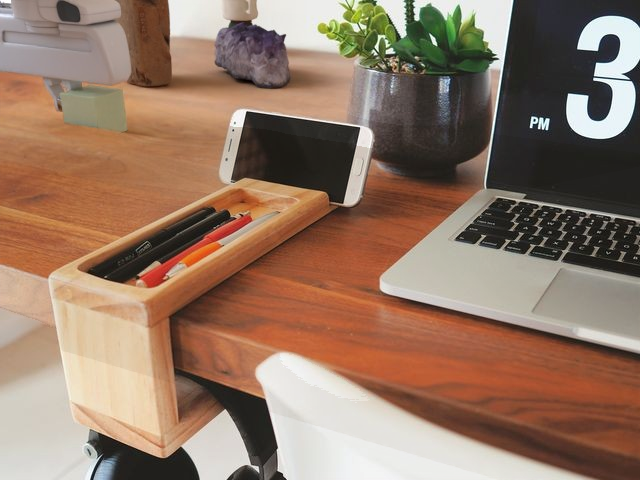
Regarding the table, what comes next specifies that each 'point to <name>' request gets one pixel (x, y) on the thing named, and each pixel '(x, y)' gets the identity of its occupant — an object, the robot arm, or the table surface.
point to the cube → (95, 108)
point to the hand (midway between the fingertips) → (67, 111)
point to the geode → (253, 55)
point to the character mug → (239, 11)
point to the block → (147, 40)
